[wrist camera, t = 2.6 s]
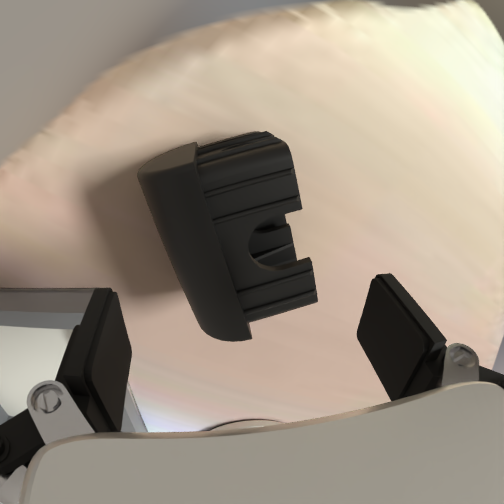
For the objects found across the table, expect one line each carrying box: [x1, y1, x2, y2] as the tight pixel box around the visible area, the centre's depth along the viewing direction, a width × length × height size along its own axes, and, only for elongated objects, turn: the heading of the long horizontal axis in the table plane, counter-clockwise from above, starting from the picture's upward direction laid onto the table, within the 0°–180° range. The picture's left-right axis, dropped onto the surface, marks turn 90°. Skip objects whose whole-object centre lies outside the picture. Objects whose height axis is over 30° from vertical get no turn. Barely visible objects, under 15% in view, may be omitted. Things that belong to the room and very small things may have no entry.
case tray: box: [0, 288, 148, 432], centre depth 24 cm, size 21×21×3 cm
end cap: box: [137, 131, 318, 342], centre depth 18 cm, size 10×7×7 cm
